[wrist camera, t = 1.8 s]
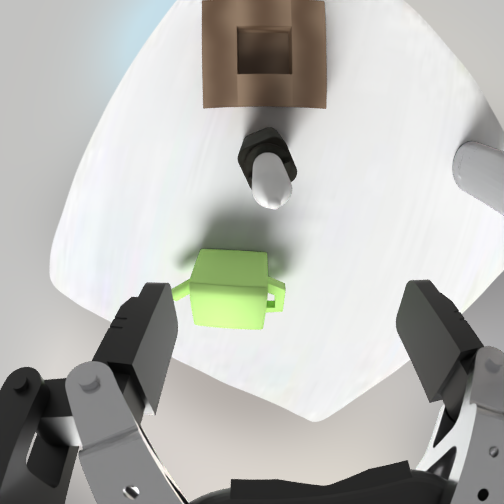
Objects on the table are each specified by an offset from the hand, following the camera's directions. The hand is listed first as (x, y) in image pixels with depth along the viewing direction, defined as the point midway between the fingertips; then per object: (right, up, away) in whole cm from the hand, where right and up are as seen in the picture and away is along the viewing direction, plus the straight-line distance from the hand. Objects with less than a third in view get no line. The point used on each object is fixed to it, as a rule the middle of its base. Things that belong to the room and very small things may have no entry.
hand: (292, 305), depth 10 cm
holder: (0, +28, +25) cm, 37 cm away
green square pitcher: (-5, -2, +41) cm, 41 cm away
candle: (0, +16, +31) cm, 35 cm away
